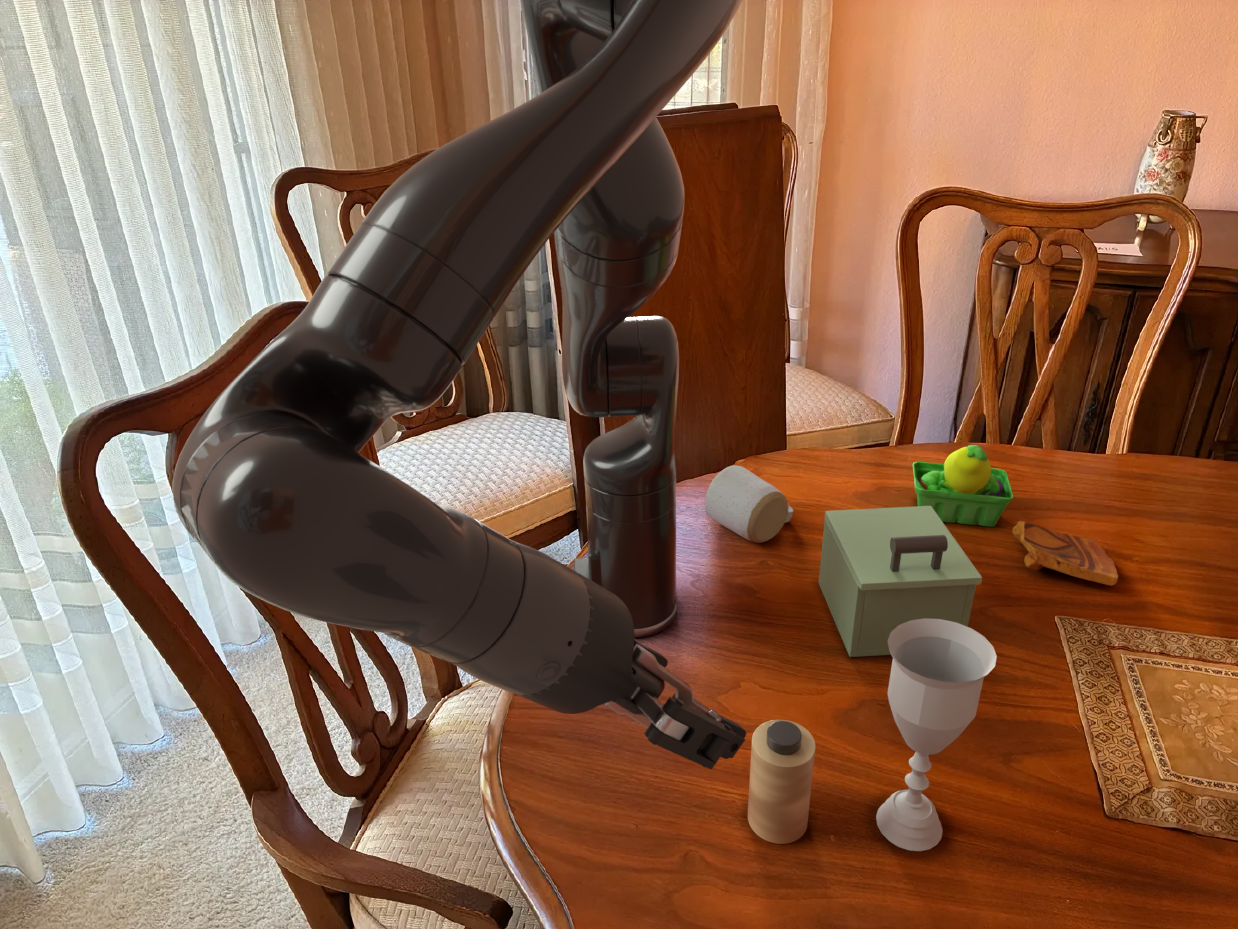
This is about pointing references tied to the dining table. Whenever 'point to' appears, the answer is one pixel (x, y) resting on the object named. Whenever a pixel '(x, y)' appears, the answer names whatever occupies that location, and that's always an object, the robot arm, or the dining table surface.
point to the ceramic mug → (747, 504)
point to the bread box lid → (900, 548)
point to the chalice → (930, 714)
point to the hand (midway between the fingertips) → (694, 704)
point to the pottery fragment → (1065, 553)
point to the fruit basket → (963, 488)
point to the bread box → (881, 603)
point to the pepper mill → (780, 780)
